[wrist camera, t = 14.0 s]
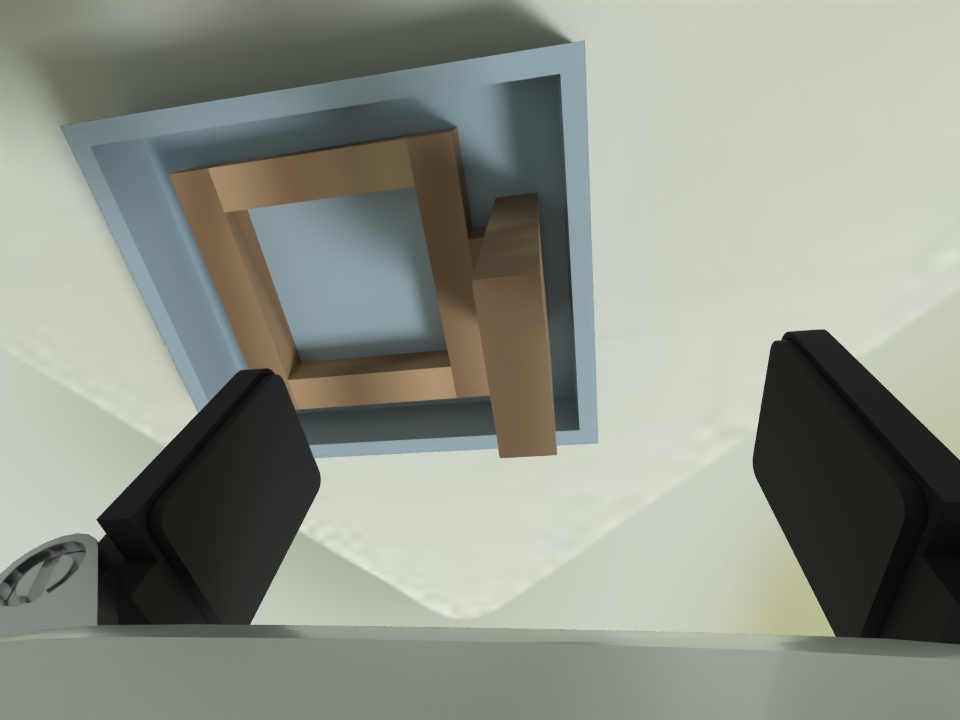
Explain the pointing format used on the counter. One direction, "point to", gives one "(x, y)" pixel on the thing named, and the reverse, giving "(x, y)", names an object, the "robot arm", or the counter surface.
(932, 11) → the counter surface
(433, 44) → the counter surface
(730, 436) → the counter surface
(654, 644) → the robot arm
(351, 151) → the ring
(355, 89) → the tray
